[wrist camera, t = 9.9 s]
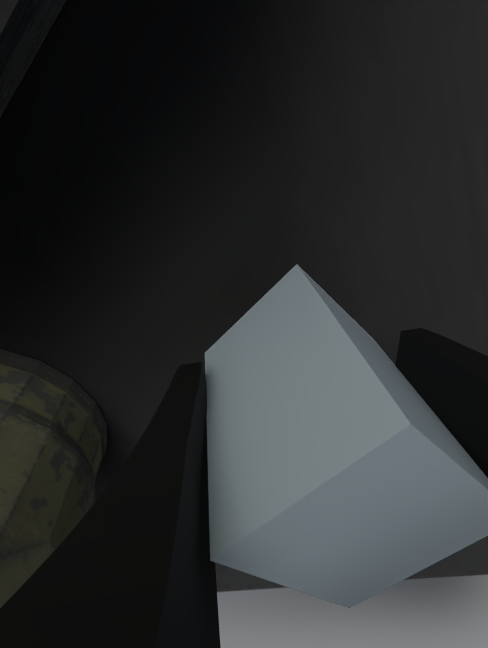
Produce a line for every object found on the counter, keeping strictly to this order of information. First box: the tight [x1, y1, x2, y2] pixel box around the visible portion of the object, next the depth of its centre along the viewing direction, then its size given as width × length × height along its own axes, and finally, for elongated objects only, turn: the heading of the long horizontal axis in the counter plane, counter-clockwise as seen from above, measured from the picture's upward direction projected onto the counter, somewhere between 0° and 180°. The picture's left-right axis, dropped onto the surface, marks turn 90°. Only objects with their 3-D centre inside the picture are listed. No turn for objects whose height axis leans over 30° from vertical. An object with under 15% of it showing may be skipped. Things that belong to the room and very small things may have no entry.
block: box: [205, 264, 488, 608], centre depth 8 cm, size 4×4×6 cm
